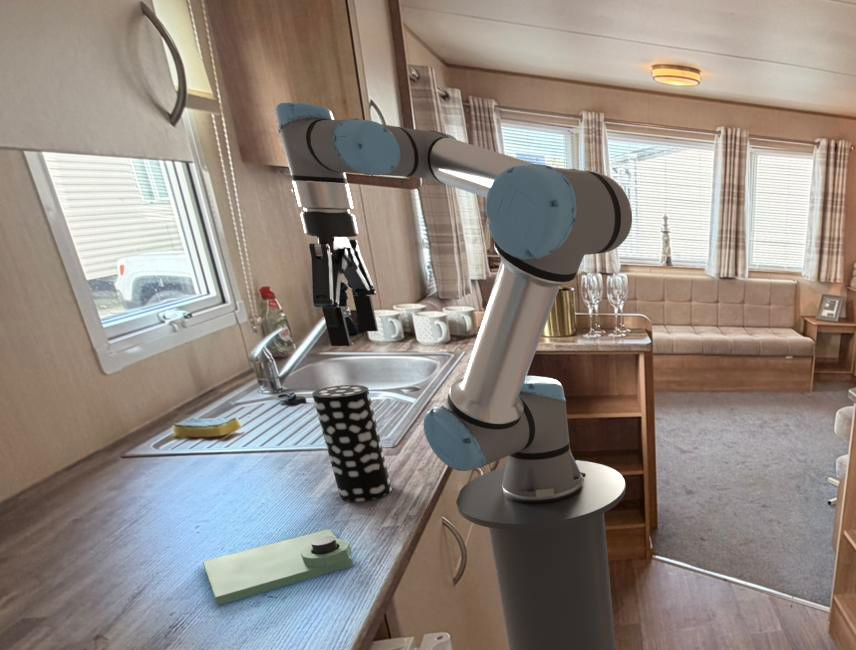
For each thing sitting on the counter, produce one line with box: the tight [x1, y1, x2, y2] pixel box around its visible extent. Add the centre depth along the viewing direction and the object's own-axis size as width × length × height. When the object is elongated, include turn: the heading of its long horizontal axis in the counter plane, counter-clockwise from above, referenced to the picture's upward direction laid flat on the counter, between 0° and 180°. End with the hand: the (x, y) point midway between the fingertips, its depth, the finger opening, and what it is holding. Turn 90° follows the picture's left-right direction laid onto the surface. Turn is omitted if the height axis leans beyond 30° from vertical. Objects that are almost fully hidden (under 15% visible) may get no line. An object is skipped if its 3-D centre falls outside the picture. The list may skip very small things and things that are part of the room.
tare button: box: [311, 536, 338, 555], centre depth 96 cm, size 3×3×2 cm
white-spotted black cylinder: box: [311, 384, 393, 502], centre depth 118 cm, size 8×8×20 cm
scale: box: [202, 528, 354, 607], centre depth 96 cm, size 16×13×3 cm
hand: (356, 338), depth 115 cm, fingers open, 13 cm apart
